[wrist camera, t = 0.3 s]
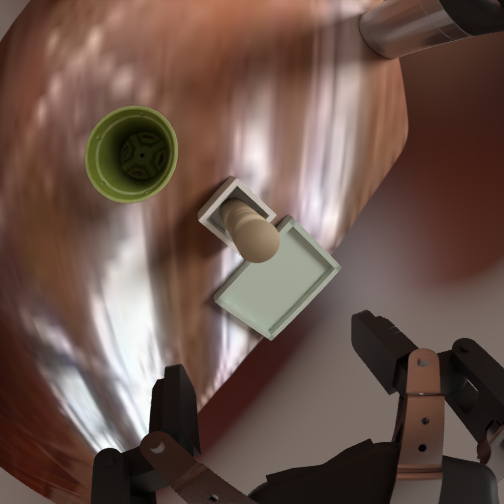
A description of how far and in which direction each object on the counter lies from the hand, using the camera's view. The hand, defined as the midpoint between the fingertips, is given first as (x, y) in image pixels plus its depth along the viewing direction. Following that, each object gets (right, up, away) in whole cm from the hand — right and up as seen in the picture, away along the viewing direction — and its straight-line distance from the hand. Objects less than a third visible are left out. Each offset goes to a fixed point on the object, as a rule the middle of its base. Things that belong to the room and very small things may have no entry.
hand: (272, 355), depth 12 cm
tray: (+3, +1, +28) cm, 28 cm away
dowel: (-3, +10, +23) cm, 25 cm away
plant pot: (-14, +16, +19) cm, 29 cm away
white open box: (-3, +10, +24) cm, 26 cm away
